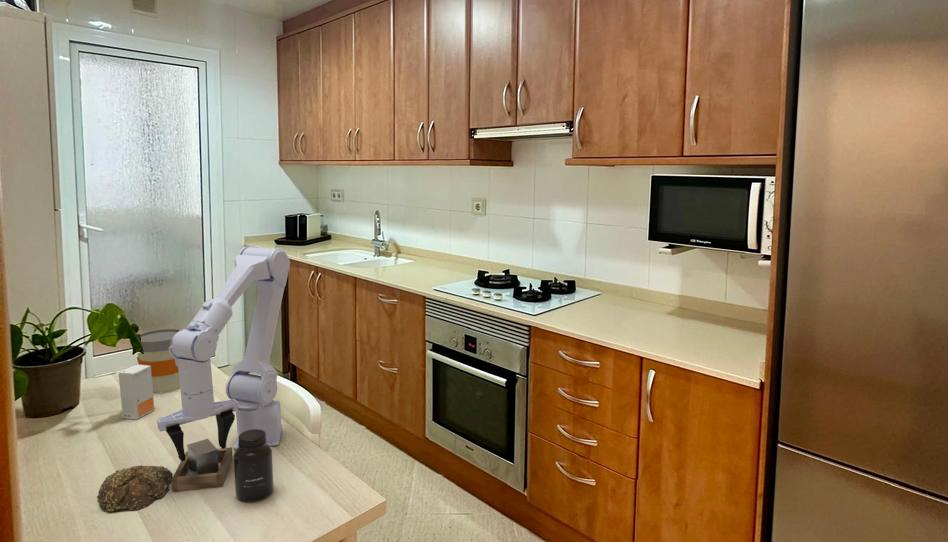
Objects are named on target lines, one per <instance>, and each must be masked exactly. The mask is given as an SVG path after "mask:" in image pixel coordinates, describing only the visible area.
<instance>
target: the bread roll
mask: <svg viewBox="0 0 948 542" xmlns="http://www.w3.org/2000/svg"><path fill="white" fill-rule="evenodd" d="M173 476H174V474H173V472H171V470H170V469H168V468H167V467H165V466H164V465H163V466H162V465H149V466H148V465H134V466H131V467H128V468H127V467H126V468H122V469H119V470H115V472H113V473H111V474H110V475H107V477H105V480H103V482H102V483H101V484H100V487H99V490H98V495H96V498H97V499H98V503H100V508H101V510H102V511H104V512H106V513H112V512H116V511H120V510H130V511H140V510H143V509H145V508H147V507H149V506H150V505H152V504H153V503H155V501H157V500H160V499H162V498H164V497H165V496H166V495H167V493H168V492H169V491H170V488H171V487H170V485H171V484H172V483H171V479H172V478H173Z"/></svg>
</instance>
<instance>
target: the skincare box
mask: <svg viewBox="0 0 948 542" xmlns="http://www.w3.org/2000/svg"><path fill="white" fill-rule="evenodd" d="M117 373H118V382H119V393H120V402H121V410H122V412H121V413H122V418H123V419H128V420H135V421H137V420H139V419H140V418H142V417H145V416H146V415H148V414H149V413H152V412H154V411H155V409H156V408H155V400H154V393H153V386H152V375H151V366H148V365H139V364H138V363H137V364H135V365H132V366H130V367H127V368H126V369H124V370H122V371H119V372H117Z"/></svg>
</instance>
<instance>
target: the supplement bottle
mask: <svg viewBox="0 0 948 542" xmlns="http://www.w3.org/2000/svg"><path fill="white" fill-rule="evenodd" d="M238 446H239V448H237V449H235V451H234V452H233V466H234V467H233V470H234V487H235V488H234V489H235V490H234V491H235V495H236V498H237V499H239V500H240V501H243V502H249V503H251V502H252V503H253V502H259V501H261V500H264V499H265V498H267V497H268V496H269V495H271V494H272V493H273V491H274V469H273V467H274V464H273V449H272V446H269V445H268V444H267V443H266V433H265V431H263V430H259V429H253V430H248V431H245V432H243V433H241V434H240V435H239V443H238Z"/></svg>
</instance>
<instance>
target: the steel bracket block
mask: <svg viewBox="0 0 948 542" xmlns="http://www.w3.org/2000/svg"><path fill="white" fill-rule="evenodd" d="M186 447H187V448H186V450H187V451H186V452H188V461H189V470H188V472H189V473H190V474H191V475H198V474H208V473H217V472H218V470H219V467H220V464H219V463H220V462H218V450H217V449H218V448H217V447H216V446H215V445H214V444H213V443H212V442H211V441H210V439H209V438H206V439H205V438H204V439H203V440H201V439H200V440H199V441H195V442H192V443H187V444H186Z"/></svg>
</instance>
